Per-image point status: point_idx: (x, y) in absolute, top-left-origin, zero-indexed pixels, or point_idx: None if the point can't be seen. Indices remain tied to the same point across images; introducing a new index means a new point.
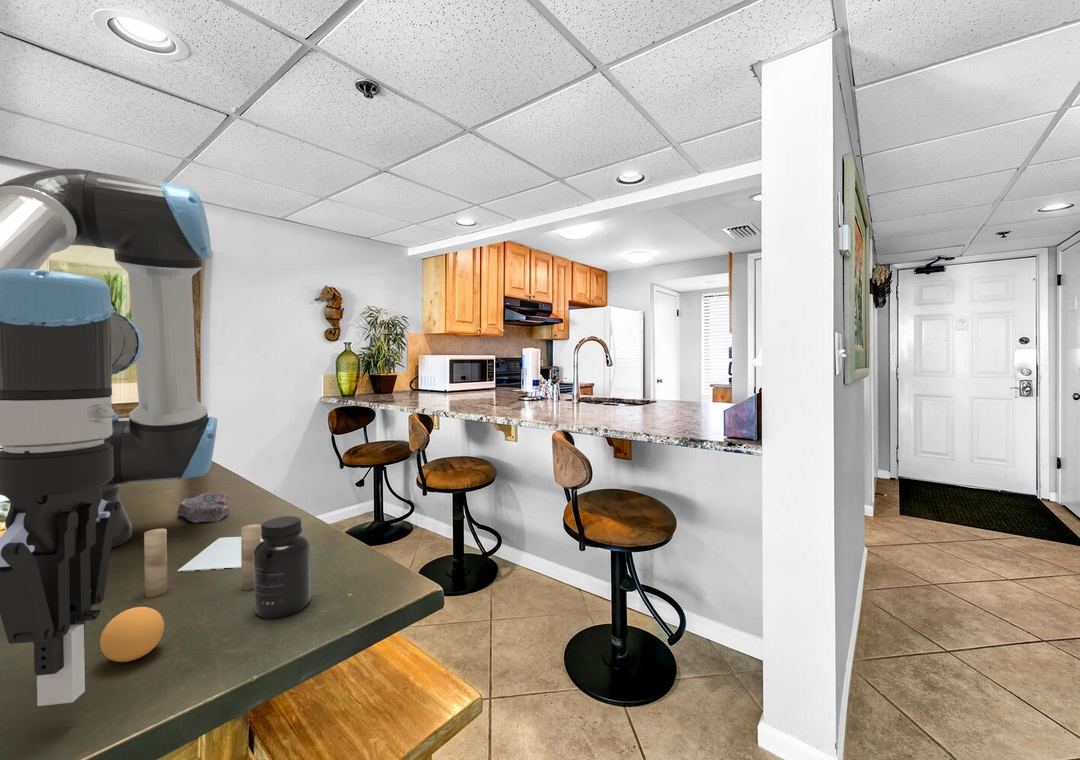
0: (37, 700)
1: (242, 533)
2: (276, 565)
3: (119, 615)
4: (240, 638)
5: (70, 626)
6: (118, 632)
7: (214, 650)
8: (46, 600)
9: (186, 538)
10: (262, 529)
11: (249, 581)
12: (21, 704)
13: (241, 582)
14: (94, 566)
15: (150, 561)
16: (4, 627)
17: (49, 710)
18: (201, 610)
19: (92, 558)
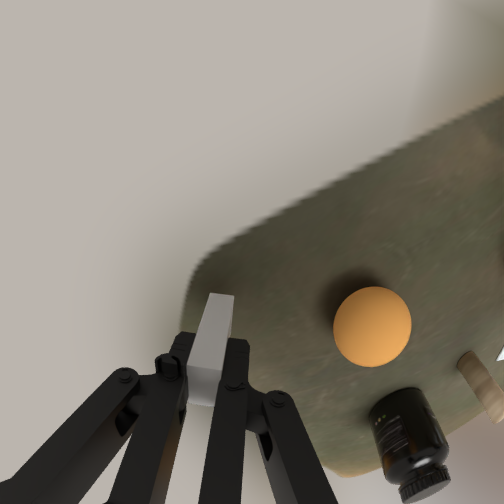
0: (209, 296)
1: (500, 407)
2: (385, 464)
3: (382, 336)
4: (346, 395)
5: (213, 395)
6: (347, 337)
7: (332, 382)
8: (111, 458)
9: None
10: (425, 484)
11: (463, 370)
12: (293, 217)
13: (471, 357)
14: (274, 487)
15: None
16: (93, 392)
17: (265, 262)
18: (443, 332)
19: (281, 501)
